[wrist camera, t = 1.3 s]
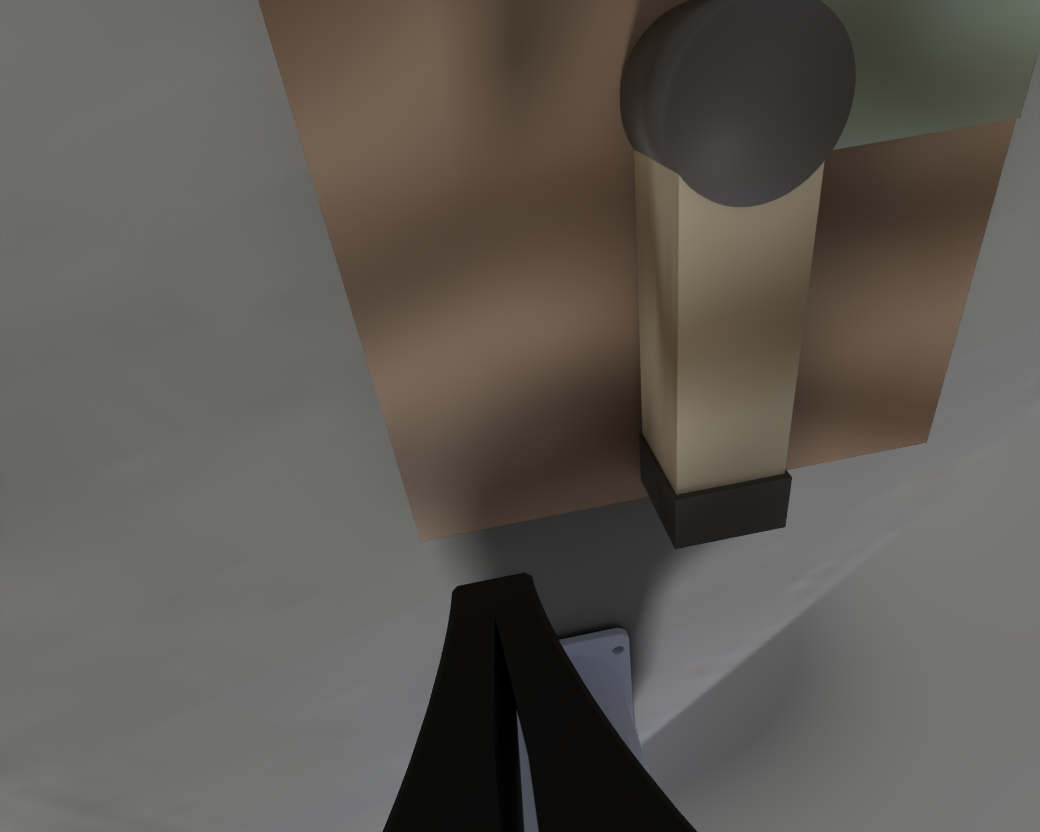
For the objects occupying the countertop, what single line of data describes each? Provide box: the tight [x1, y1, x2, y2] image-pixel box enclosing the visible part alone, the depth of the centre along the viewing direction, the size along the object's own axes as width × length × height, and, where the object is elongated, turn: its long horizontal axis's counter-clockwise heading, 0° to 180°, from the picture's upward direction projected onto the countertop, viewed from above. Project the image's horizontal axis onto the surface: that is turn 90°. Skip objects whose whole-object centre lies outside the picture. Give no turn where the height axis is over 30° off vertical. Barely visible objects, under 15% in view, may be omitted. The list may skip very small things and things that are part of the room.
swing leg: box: [620, 0, 856, 549], centre depth 15 cm, size 13×4×3 cm, turn 7°
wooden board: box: [258, 0, 1040, 542], centre depth 17 cm, size 18×18×2 cm
